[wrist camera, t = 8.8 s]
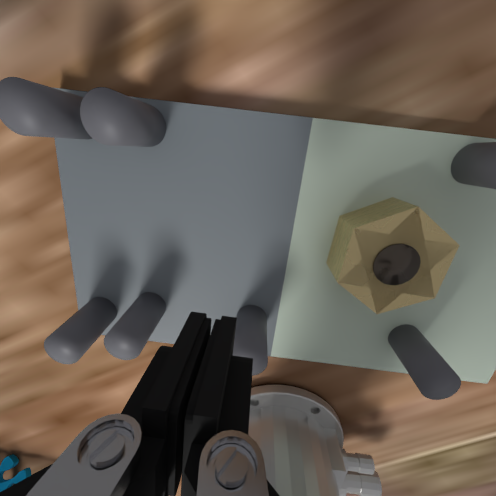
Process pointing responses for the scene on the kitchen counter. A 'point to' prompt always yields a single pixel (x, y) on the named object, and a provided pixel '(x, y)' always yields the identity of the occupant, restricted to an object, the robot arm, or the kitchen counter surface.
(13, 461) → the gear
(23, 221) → the kitchen counter surface
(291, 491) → the robot arm
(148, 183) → the spacer board
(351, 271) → the nut
